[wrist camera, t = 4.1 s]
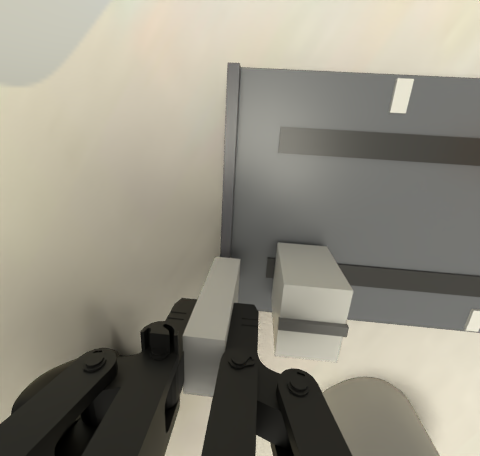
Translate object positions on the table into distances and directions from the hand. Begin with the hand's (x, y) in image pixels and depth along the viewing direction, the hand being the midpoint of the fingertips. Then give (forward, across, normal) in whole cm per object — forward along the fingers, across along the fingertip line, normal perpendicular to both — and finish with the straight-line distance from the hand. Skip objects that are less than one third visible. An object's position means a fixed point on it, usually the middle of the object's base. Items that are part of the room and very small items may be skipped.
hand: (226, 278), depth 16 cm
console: (+4, +13, +4) cm, 15 cm away
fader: (+2, +4, 0) cm, 5 cm away
